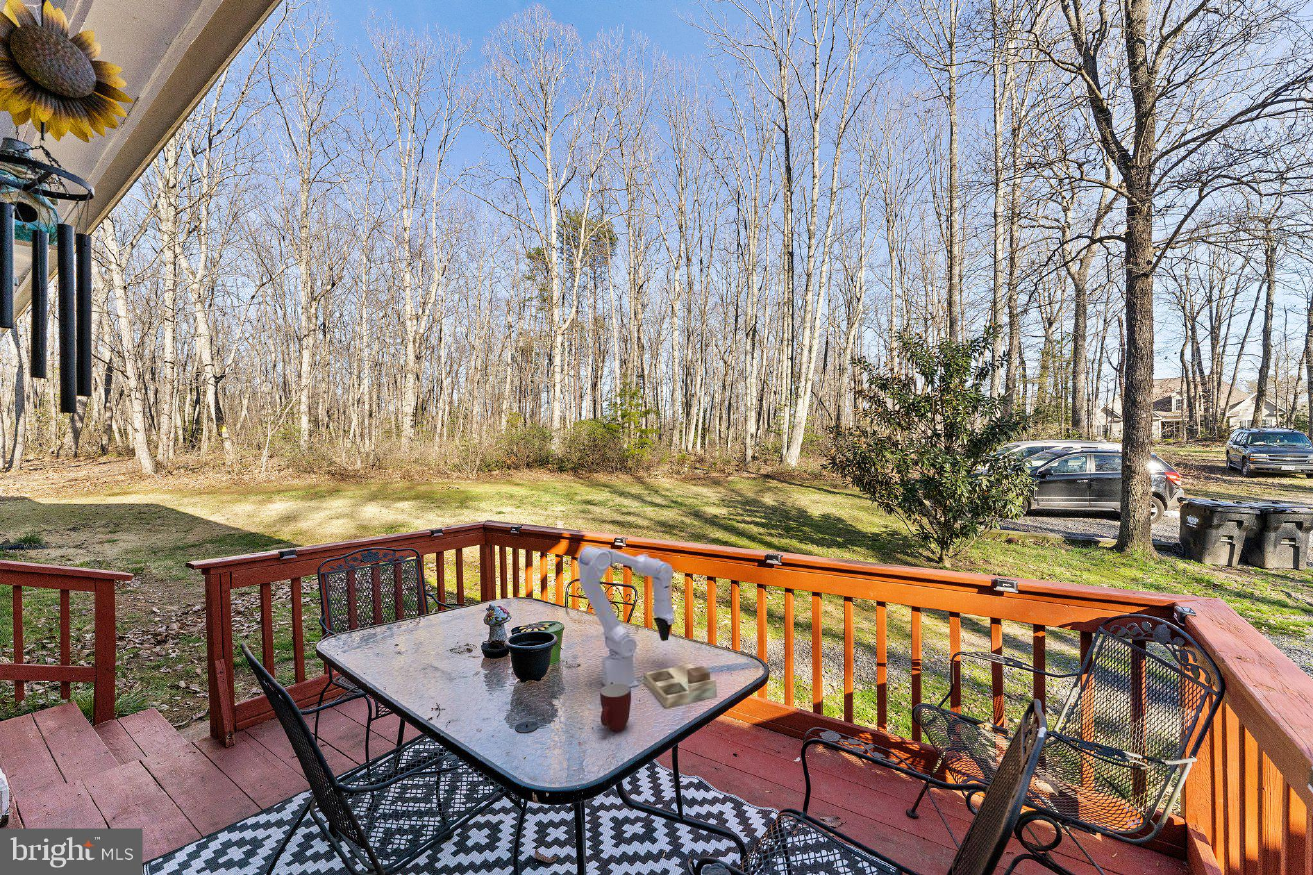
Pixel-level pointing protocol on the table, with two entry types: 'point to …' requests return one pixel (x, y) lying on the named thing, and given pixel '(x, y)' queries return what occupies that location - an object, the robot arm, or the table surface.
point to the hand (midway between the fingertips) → (664, 639)
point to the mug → (615, 706)
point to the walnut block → (698, 674)
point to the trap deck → (678, 686)
